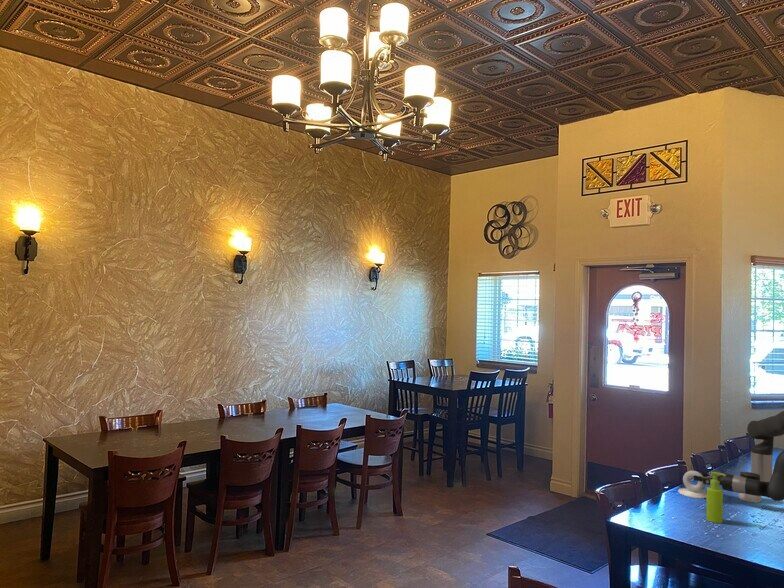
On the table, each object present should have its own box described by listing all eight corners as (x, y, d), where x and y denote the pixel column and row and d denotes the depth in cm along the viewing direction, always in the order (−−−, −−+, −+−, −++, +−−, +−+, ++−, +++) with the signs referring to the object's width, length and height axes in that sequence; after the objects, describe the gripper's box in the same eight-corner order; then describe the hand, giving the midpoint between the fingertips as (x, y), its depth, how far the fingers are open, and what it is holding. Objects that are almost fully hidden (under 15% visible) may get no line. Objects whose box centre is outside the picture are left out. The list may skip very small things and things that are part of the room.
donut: (706, 493, 270) (706, 472, 271) (704, 495, 268) (704, 473, 268) (684, 488, 277) (684, 467, 278) (681, 490, 275) (682, 469, 275)
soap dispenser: (725, 525, 233) (725, 475, 233) (705, 521, 236) (706, 472, 237) (725, 520, 238) (726, 472, 238) (706, 517, 241) (707, 469, 242)
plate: (682, 488, 282) (682, 485, 282) (711, 494, 273) (712, 492, 273) (674, 493, 272) (674, 491, 272) (704, 500, 264) (704, 498, 264)
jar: (754, 504, 261) (754, 477, 262) (735, 498, 268) (736, 473, 268) (763, 501, 266) (764, 475, 267) (745, 496, 273) (745, 470, 273)
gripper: (738, 472, 267) (700, 465, 278) (731, 478, 256) (692, 470, 267) (738, 488, 266) (700, 480, 277) (731, 495, 256) (691, 486, 267)
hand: (696, 475), depth 272 cm, fingers open, 8 cm apart
